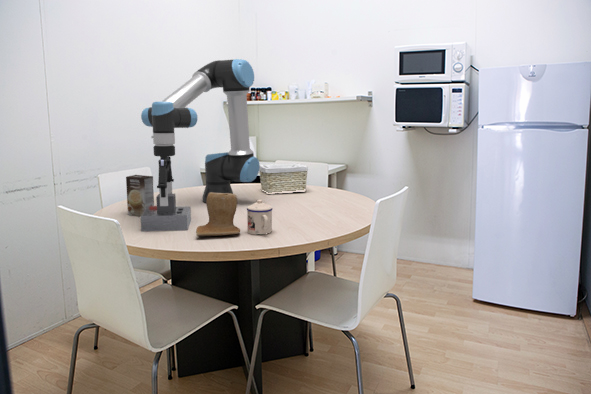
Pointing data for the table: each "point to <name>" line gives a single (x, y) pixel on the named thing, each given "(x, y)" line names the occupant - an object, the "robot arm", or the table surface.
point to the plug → (171, 204)
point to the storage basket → (283, 177)
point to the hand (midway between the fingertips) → (166, 202)
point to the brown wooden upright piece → (219, 215)
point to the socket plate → (166, 219)
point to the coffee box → (139, 194)
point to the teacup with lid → (259, 218)
